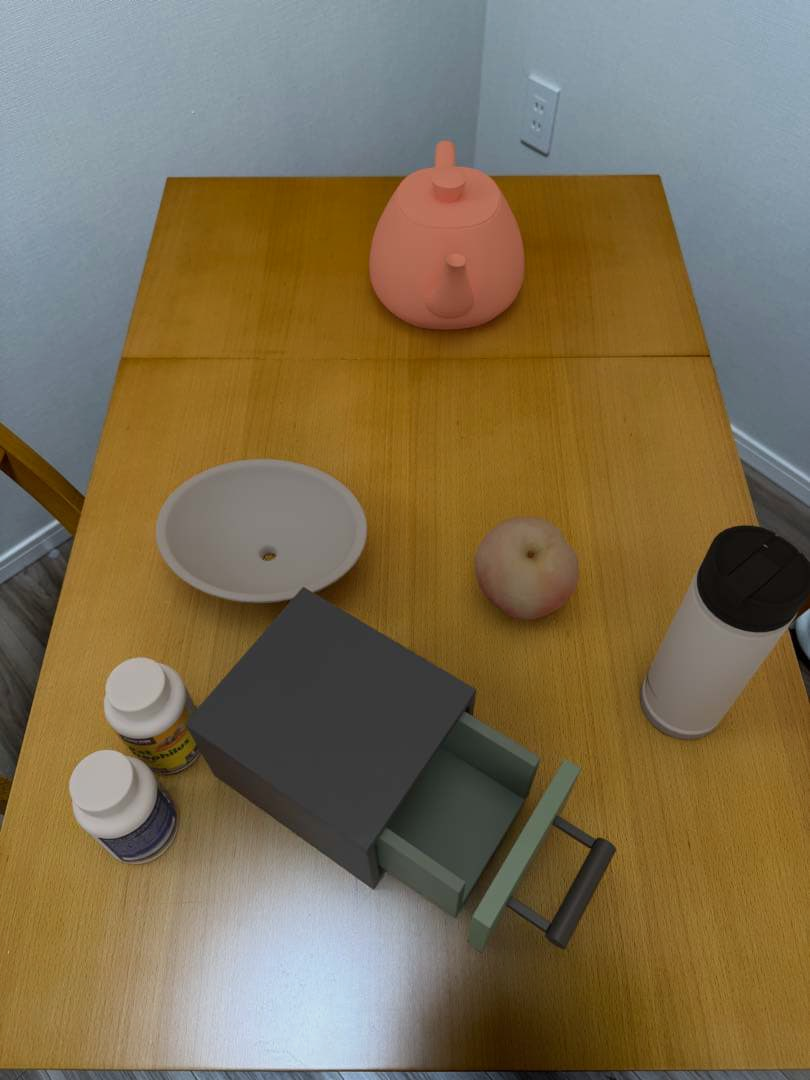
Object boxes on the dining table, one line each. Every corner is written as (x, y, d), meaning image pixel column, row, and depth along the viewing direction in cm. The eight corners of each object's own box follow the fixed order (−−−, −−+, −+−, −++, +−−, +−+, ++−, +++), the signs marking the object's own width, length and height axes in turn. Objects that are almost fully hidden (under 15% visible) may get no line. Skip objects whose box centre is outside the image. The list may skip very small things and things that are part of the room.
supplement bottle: (136, 785, 63) (92, 731, 55) (132, 716, 66) (90, 655, 58) (212, 767, 64) (180, 711, 55) (204, 700, 67) (173, 638, 59)
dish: (144, 613, 72) (127, 581, 67) (200, 481, 80) (188, 446, 76) (349, 648, 69) (344, 617, 65) (386, 509, 77) (383, 474, 73)
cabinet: (470, 744, 65) (476, 689, 57) (374, 890, 59) (366, 851, 51) (316, 648, 69) (302, 586, 62) (213, 775, 63) (183, 723, 56)
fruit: (499, 649, 69) (507, 598, 63) (459, 572, 73) (462, 516, 67) (586, 616, 71) (603, 563, 64) (542, 542, 75) (553, 485, 68)
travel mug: (619, 700, 66) (684, 557, 50) (674, 651, 69) (754, 498, 52) (682, 760, 64) (773, 628, 47) (738, 706, 66) (843, 563, 50)
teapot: (533, 370, 87) (549, 259, 76) (369, 374, 87) (361, 264, 76) (512, 221, 102) (523, 110, 91) (371, 225, 102) (365, 114, 91)
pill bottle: (195, 808, 62) (161, 759, 54) (152, 878, 59) (110, 837, 51) (133, 778, 63) (91, 725, 55) (89, 845, 61) (38, 800, 53)
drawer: (618, 840, 59) (642, 804, 53) (539, 993, 54) (554, 974, 48) (407, 709, 65) (405, 662, 59) (316, 835, 60) (304, 799, 54)
